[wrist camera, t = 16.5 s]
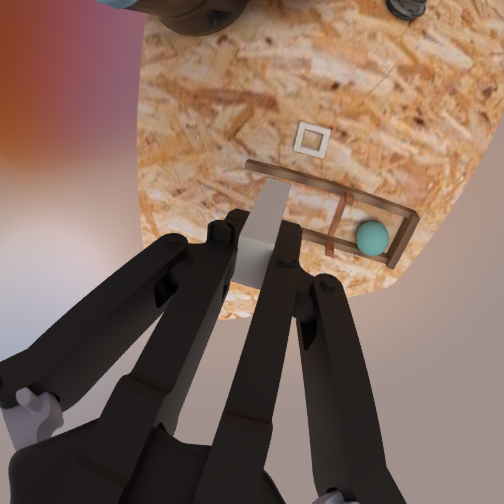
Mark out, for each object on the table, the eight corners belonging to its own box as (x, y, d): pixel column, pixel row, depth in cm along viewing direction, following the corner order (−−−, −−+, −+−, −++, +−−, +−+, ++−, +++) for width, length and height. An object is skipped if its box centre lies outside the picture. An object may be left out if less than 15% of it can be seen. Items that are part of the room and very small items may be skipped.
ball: (369, 240, 49) (349, 254, 47) (368, 212, 46) (348, 224, 44) (394, 251, 44) (375, 267, 42) (395, 221, 41) (376, 235, 39)
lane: (238, 216, 51) (230, 228, 47) (248, 159, 44) (240, 167, 41) (390, 260, 49) (395, 275, 45) (415, 211, 42) (423, 223, 38)
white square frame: (294, 147, 42) (293, 150, 40) (301, 120, 39) (300, 121, 37) (323, 155, 41) (323, 158, 40) (330, 128, 38) (331, 130, 37)
